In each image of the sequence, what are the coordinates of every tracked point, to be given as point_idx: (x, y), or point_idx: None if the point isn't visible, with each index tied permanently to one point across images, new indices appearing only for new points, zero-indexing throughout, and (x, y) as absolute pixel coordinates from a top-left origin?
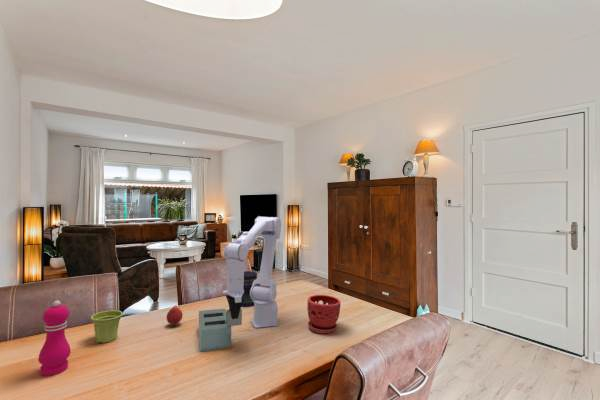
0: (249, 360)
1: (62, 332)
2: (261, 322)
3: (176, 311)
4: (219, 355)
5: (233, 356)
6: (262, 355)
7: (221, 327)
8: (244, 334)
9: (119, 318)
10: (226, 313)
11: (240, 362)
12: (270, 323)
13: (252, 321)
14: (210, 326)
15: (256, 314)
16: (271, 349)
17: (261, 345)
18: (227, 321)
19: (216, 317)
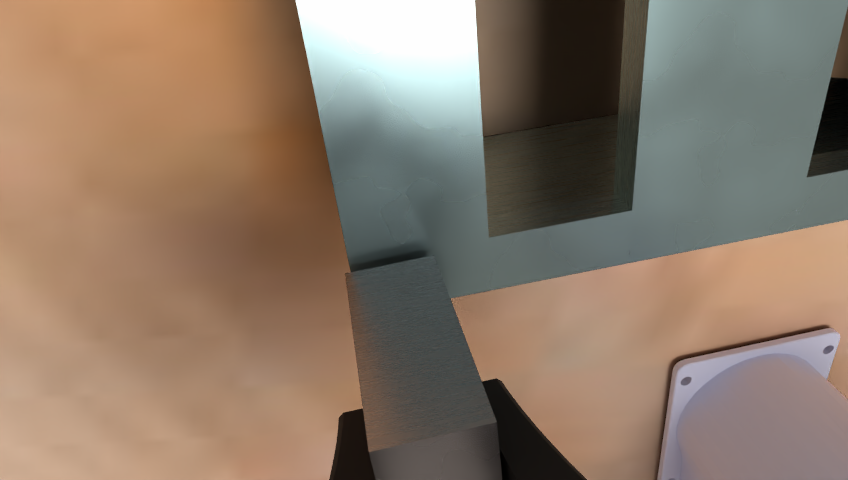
0: (74, 351)
1: None
2: (700, 428)
3: None
4: (168, 87)
5: (147, 223)
6: (169, 430)
7: (357, 189)
8: (589, 287)
9: None
10: (473, 368)
11: (28, 288)
12: (685, 466)
13: (799, 343)
14: (430, 3)
15: (780, 444)
16: (269, 475)
17: None
18: (352, 324)
19: (787, 78)
